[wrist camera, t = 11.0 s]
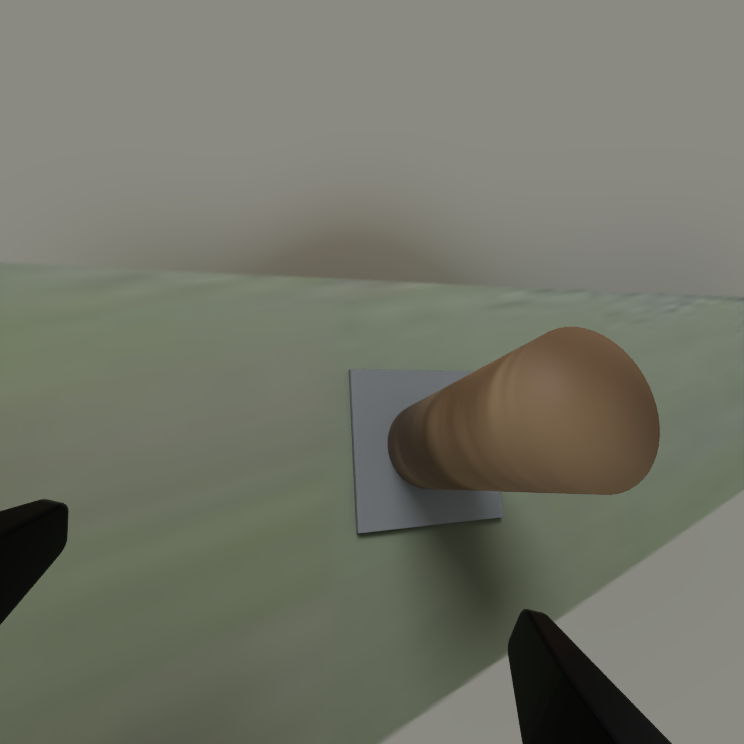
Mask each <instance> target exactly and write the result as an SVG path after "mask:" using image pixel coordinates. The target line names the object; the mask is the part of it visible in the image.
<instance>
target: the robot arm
mask: <svg viewBox="0 0 744 744" xmlns="http://www.w3.org/2000/svg"><path fill="white" fill-rule="evenodd" d="M67 533H68V507H67V505H66V504H64V503H61V502H57V501H52V500H47V499H42V500H38V501H34V502H31V503H27V504H24V505H20V506H17V507H13V508H10V509H7V510H3V511H0V624H1V623H2V622H3V621H4V620H5V619H6V617H7V616H8V615H9V614H10V613H11V612H12V610H13V609H14V608H15V607H16V606H17V604H18V603H19V602H20V601H21V600H22V599H23V597H24V596H25V595H26V594H27V593H28V591H29V590H30V589H31V588H32V587H33V586H34V584H35V583H36V582H37V581H38V580H39V578H40V577H41V576H42V575H43V574H44V573H45V571H46V570H47V569H48V568H49V567H50V565H51V564H52V563H53V562H54V561H55V560H56V558H57V557H58V556H59V555H60V553H61V552H62V550H63V549H64V547H65V545H66V542H67ZM508 657H509V662H510V669H511V675H512V681H513V688H514V694H515V700H516V706H517V712H518V718H519V724H520V731H521V737H522V742H523V744H672V743H671V742H670V741H669V740H668V739H667V738H666V737H665V736H664V735H663V734H662V733H661V732H660V731H659V730H658V729H657V728H656V727H655V726H654V725H653V724H652V723H651V722H650V721H649V720H648V719H647V718H646V717H645V716H644V715H643V714H642V713H641V712H640V710H638V708H636V707H635V705H634V704H633V703H632V702H631V701H630V700H629V699H628V698H627V697H626V696H625V695H624V694H623V693H622V692H621V691H620V690H619V689H618V688H617V687H616V686H615V685H614V684H613V683H612V682H611V681H610V680H609V679H608V678H607V676H606V675H604V674H603V672H602V671H601V670H600V669H599V668H598V667H597V666H596V665H595V664H594V663H593V662H592V661H591V660H590V659H589V658H588V657H587V656H586V655H585V654H584V653H583V652H582V651H581V650H580V649H579V648H578V647H577V646H576V645H575V644H574V643H573V642H572V640H570V638H569V637H568V636H567V635H566V634H565V633H564V632H563V631H562V630H561V629H560V628H559V627H558V626H557V625H556V624H555V623H554V622H553V621H552V620H551V619H550V618H549V617H548V616H547V615H546V614H544V613H542V612H538V611H533V610H529V609H524V610H523V611H522V612H521V613H520V615H519V617H518V620H517V622H516V624H515V627H514V629H513V632H512V634H511V636H510V639H509V643H508Z"/></svg>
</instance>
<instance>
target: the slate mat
mask: <svg viewBox="0 0 744 744" xmlns="http://www.w3.org/2000/svg"><path fill="white" fill-rule="evenodd" d="M471 373H473V372H468V371H421V370H373V369H350V370H349V383H350V405H351V426H352V448H353V469H354V491H355V512H356V532H357V533H366V532H375V531H384V530H393V529H402V528H411V527H420V526H429V525H438V524H447V523H456V522H465V521H474V520H482V519H491V518H500V517H504V513H503V506H502V499H501V492H500V491H472V490H440V489H423V488H419V487H416V486H414V485H411V484H410V483H408V482H407V481H405V480H404V479H403V478H402V477H401V476H400V475H399V474H398V473H397V471H396V470H395V468H394V466H393V464H392V462H391V460H390V457H389V453H388V443H387V440H388V434H389V430H390V427H391V424H392V423H393V421H394V419H395V418H396V417H397V415H398V414H399V413H400V412H401V411H403V410H404V409H406V408H407V407H409V406H411V405H413V404H415V403H417V402H419V401H420V400H422V399H424V398H426V397H428V396H430V395H432V394H434V393H435V392H437V391H439V390H441V389H443V388H445V387H447V386H448V385H450V384H452V383H454V382H456V381H458V380H460V379H462V378H463V377H465V376H467V375H469V374H471Z"/></svg>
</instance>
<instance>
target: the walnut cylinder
mask: <svg viewBox="0 0 744 744" xmlns="http://www.w3.org/2000/svg"><path fill="white" fill-rule="evenodd" d="M659 437H660V427H659V417H658V412H657V407H656V404H655V400H654V397H653V394H652V392H651V389H650V387H649V385H648V383H647V381H646V379H645V377H644V375H643V374H642V372H641V371H640V369H639V368H638V366H637V365H636V364H635V362H634V361H633V360H632V359H631V358H630V357H629V355H628V354H627V353H626V352H625V351H624V350H623V349H621V348H620V347H619V346H618V345H617V344H615V343H614V342H613V341H611V340H610V339H608V338H607V337H605V336H603V335H601V334H599V333H597V332H594V331H592V330H588V329H585V328H579V327H563V328H558V329H555V330H552V331H550V332H548V333H546V334H544V335H542V336H540V337H538V338H536V339H535V340H533V341H531V342H529V343H527V344H525V345H523V346H521V347H520V348H518V349H516V350H514V351H512V352H510V353H508V354H506V355H505V356H503V357H501V358H499V359H497V360H495V361H493V362H492V363H490V364H488V365H486V366H484V367H482V368H480V369H478V370H477V371H475V372H473V373H471V374H469V375H467V376H465V377H463V378H462V379H460V380H458V381H456V382H454V383H452V384H450V385H448V386H447V387H445V388H443V389H441V390H439V391H437V392H435V393H434V394H432V395H430V396H428V397H426V398H424V399H422V400H420V401H419V402H417V403H415V404H413V405H411V406H409V407H407V408H406V409H404V410H403V411H401V412H400V413H399V414H398V415H397V417H396V418H395V419H394V421H393V423H392V424H391V427H390V430H389V434H388V440H387V443H388V453H389V457H390V460H391V462H392V464H393V466H394V468H395V470H396V471H397V473H398V474H399V475H400V476H401V477H402V478H403V479H404V480H405V481H407V482H408V483H410V484H411V485H414V486H416V487H419V488H423V489H440V490H472V491H504V492H535V493H567V494H599V495H612V494H618V493H622V492H624V491H627V490H629V489H631V488H633V487H634V486H636V485H637V484H638V483H639V482H641V481H642V480H643V479H644V477H645V476H646V475H647V474H648V472H649V471H650V469H651V467H652V465H653V463H654V460H655V458H656V455H657V451H658V446H659Z"/></svg>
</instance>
